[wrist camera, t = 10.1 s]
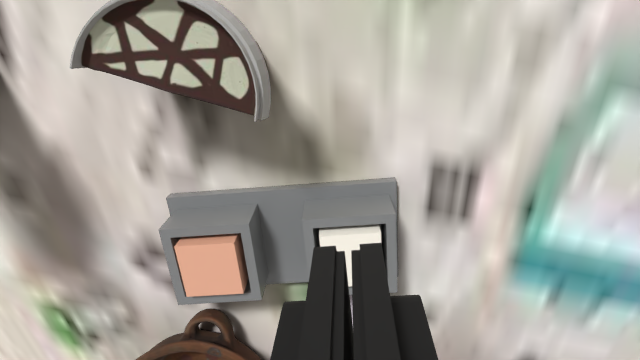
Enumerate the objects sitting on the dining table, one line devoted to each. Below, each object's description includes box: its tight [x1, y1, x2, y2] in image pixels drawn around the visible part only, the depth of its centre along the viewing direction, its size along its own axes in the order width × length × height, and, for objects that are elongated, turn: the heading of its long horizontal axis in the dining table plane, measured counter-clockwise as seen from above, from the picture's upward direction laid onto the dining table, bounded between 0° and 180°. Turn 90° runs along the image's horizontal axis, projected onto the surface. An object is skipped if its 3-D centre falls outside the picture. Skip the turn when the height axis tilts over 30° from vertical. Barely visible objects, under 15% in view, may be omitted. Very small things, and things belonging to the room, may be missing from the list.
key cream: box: [319, 224, 381, 287], centre depth 34 cm, size 5×5×3 cm
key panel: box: [159, 178, 398, 305], centre depth 35 cm, size 21×10×5 cm, turn 95°
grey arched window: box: [70, 0, 271, 122], centre depth 27 cm, size 12×6×10 cm, turn 74°
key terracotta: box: [174, 233, 249, 297], centre depth 34 cm, size 5×5×3 cm
